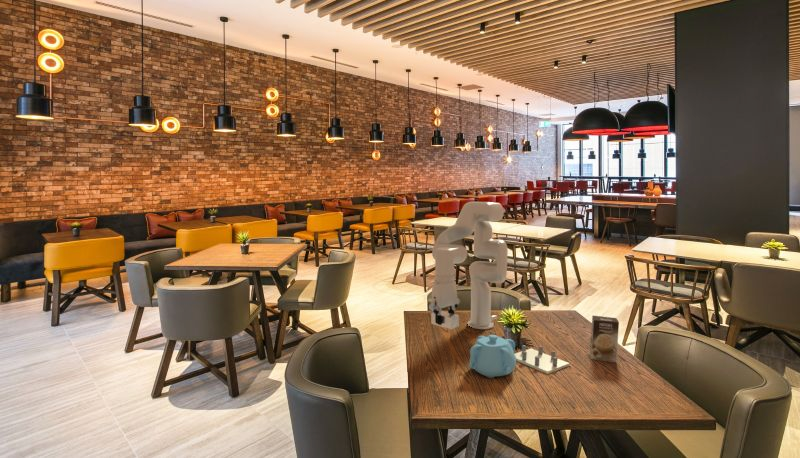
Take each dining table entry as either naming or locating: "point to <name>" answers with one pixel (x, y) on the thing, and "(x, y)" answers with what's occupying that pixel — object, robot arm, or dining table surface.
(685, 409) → the dining table surface
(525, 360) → the pin tray
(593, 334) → the coffee box
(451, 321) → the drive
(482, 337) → the decorative pot
